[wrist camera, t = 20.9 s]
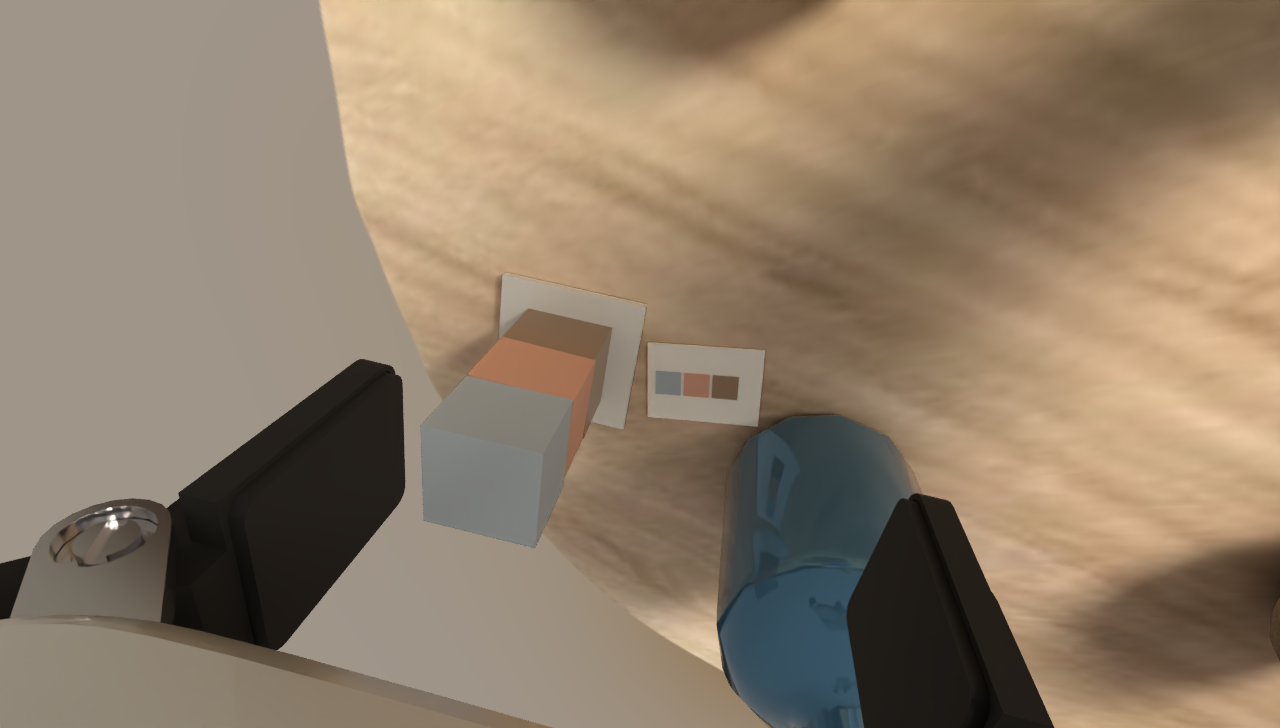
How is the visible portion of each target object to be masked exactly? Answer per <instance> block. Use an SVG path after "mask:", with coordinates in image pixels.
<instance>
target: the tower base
mask: <svg viewBox="0 0 1280 728" xmlns="http://www.w3.org/2000/svg"><path fill="white" fill-rule="evenodd" d="M646 309H647V304H644V303H640V302H635V301H631V300H626V299H622V298H617V297H613V296H609V295H604V294H600V293H595V292H591V291H586V290H582V289H578V288H573V287H569V286H564V285H560V284H555V283H551V282H547V281H542V280H538V279H533V278H529V277H524V276H520V275H516V274H511V273H507V272H506V273H504V274H503V276H502V292H501V309H500V326H499V339H500V338H501V337H506V338H510V339H514V340H518V341H522V342H526V343H530V344H534V345H538V346H542V347H546V348H549V349H553V350H557V351H561V352H565V353H569V354H573V355H577V356H581V357H585V358H589V359H593V360H596V363H595V369H594V374H593V380H592V386H591V392H590V398H589V403H588V409H587V415H586V421H585V427H584V433H583V438H584V436H585V434H586V432H587V430H588V427H589V425H590V423H591V422H593V423H597V424H601V425H605V426H610V427H614V428H618V429H622V430H623V428H624V426H625V420H626V415H627V410H628V404H629V399H630V394H631V388H632V383H633V378H634V372H635V367H636V362H637V357H638V351H639V346H640V341H641V335H642V330H643V325H644V319H645V314H646ZM583 438H582V439H583Z"/></svg>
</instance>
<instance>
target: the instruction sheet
mask: <svg viewBox="0 0 1280 728" xmlns="http://www.w3.org/2000/svg"><path fill="white" fill-rule="evenodd" d="M764 359H765V350H758V349H744V348H729V347H715V346H700V345H685V344H671V343H656V342H648V417H653V418H665V419H676V420H687V421H699V422H710V423H721V424H733V425H744V426H755V427H758V419H759V409H760V399H761V389H762V379H763V369H764Z"/></svg>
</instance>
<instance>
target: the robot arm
mask: <svg viewBox="0 0 1280 728" xmlns="http://www.w3.org/2000/svg"><path fill="white" fill-rule="evenodd" d="M404 489H405V459H404V423H403V388H402V379H401V377H400V376H398V375H395V371H394V369H393V367H391V366H390V365H386V364H381V363H377V362H373V361H369V360H365V359H359V360H357V361H356V362H354V363H353V364H351V365H350V366H349V367H347V368H346V369H345V370H343V371H342V372H341V373H339V374H338V375H337V376H335V377H334V378H333V379H331V380H330V381H329V382H327V383H326V384H324V385H323V386H322V387H320V388H319V389H318V390H316V391H315V392H314V393H312V394H311V395H310V396H308V397H307V398H306V399H304V400H303V401H302V402H300V403H299V404H298V405H296V406H295V407H294V408H292V409H291V410H289V411H288V412H287V413H285V414H284V415H283V416H281V417H280V418H279V419H277V420H276V421H275V422H273V423H272V424H271V425H269V426H268V427H267V428H265V429H264V430H263V431H261V432H260V433H259V434H257V435H256V436H254V437H253V438H252V439H250V440H249V441H248V442H246V443H245V444H244V445H242V446H241V447H240V448H238V449H237V450H236V451H234V452H233V453H232V454H230V455H229V456H228V457H226V458H225V459H224V460H222V461H221V462H219V463H218V464H217V465H216V466H214V467H213V468H211V469H210V470H209V471H207V472H206V473H205V474H203V475H202V476H201V477H199V478H198V479H197V480H195V481H194V482H193V483H191V484H190V485H189V486H187V487H186V488H184V489H183V490H182V491H180V492H179V499H178V500H177V501H175V502H174V503H173V504H171V505H170V506H169V507H168V508H165V507H164V506H163V505H162V504H160V503H157V502H154V501H151V500H145V499H133V498H132V499H123V500H113V501H109V502H105V503H101V504H97V505H93V506H91V507H88V508H86V509H83V510H81V511H78V512H76V513H73V514H71V515H70V516H68V517H66V518H65V519H63V520H61V521H60V522H58V523H56V524H55V525H53V526H52V527H51V528H50V529H49V530H48V531H47V532H46V533H44V534H43V535H42V536H41V537H40V539H39V541H38V543H37V544H36V546H35V548H34V549H33V552H32V555H31V556H30V557H25V558H21V559H17V560H13V561H9V562H5V563H1V564H0V728H552V727H549V726H545V725H541V724H538V723H534V722H531V721H527V720H523V719H520V718H517V717H513V716H510V715H506V714H503V713H499V712H496V711H492V710H488V709H485V708H482V707H478V706H475V705H471V704H467V703H464V702H460V701H457V700H453V699H450V698H446V697H443V696H439V695H435V694H432V693H429V692H425V691H421V690H418V689H414V688H411V687H407V686H403V685H400V684H396V683H392V682H389V681H385V680H381V679H378V678H375V677H371V676H368V675H364V674H360V673H357V672H353V671H350V670H346V669H342V668H339V667H335V666H331V665H328V664H325V663H321V662H317V661H314V660H310V659H307V658H302V657H299V656H296V655H292V654H288V653H284V652H280V651H276V650H278V649H279V648H281V647H282V646H283V645H284V644H285V643H286V642H287V641H288V639H289V638H290V637H291V636H292V634H293V633H294V632H295V631H296V629H297V628H298V627H299V626H300V625H301V623H302V622H303V621H304V620H305V618H306V617H307V616H308V615H309V614H310V612H311V611H312V610H313V608H314V607H315V606H316V605H317V604H318V602H319V601H320V600H321V599H322V597H323V596H324V595H325V594H326V593H327V591H328V590H329V589H330V588H331V586H332V585H333V584H334V583H335V581H336V580H337V579H338V578H339V577H340V575H341V574H342V573H343V572H344V570H345V569H346V568H347V567H348V565H349V564H350V563H351V562H352V561H353V559H354V558H355V557H356V556H357V554H358V553H359V552H360V551H361V550H362V548H363V547H364V546H365V545H366V543H367V542H368V541H369V540H370V538H371V537H372V536H373V535H374V533H375V532H376V531H377V530H378V529H379V527H380V526H381V525H382V524H383V522H384V521H385V520H386V519H387V518H388V516H389V515H390V514H391V513H392V511H393V510H394V509H395V508H396V506H397V505H398V504H399V502H400V501H401V498H402V496H403V494H404ZM846 618H847V626H848V633H849V639H850V645H851V651H852V657H853V663H854V669H855V676H856V682H857V688H858V694H859V700H860V706H861V713H862V719H863V725H864V728H1054V726H1053V724H1052V721H1051V719H1050V717H1049V715H1048V713H1047V710H1046V708H1045V706H1044V704H1043V701H1042V699H1041V697H1040V695H1039V693H1038V690H1037V688H1036V686H1035V684H1034V681H1033V679H1032V677H1031V675H1030V672H1029V670H1028V668H1027V666H1026V664H1025V661H1024V659H1023V657H1022V655H1021V652H1020V650H1019V648H1018V646H1017V644H1016V641H1015V639H1014V637H1013V635H1012V632H1011V630H1010V628H1009V626H1008V624H1007V621H1006V619H1005V617H1004V615H1003V612H1002V610H1001V608H1000V606H999V603H998V601H997V599H996V598H995V596H994V595H993V593H992V592H991V590H990V588H989V586H988V583H987V581H986V579H985V577H984V574H983V572H982V570H981V568H980V565H979V563H978V561H977V559H976V556H975V554H974V552H973V550H972V547H971V545H970V543H969V541H968V538H967V536H966V534H965V532H964V529H963V527H962V525H961V523H960V520H959V518H958V516H957V514H956V511H955V509H954V507H953V505H952V504H951V502H949V501H947V500H943V499H939V498H935V497H931V496H927V495H923V494H919V493H914V494H912V495H911V496H910V497H909V499H904V498H902V499H900V500H899V501H898V502H897V504H896V506H895V508H894V510H893V512H892V514H891V516H890V518H889V520H888V522H887V524H886V526H885V528H884V530H883V532H882V534H881V536H880V538H879V540H878V542H877V545H876V547H875V549H874V551H873V553H872V555H871V557H870V559H869V561H868V563H867V565H866V567H865V569H864V571H863V573H862V575H861V577H860V579H859V581H858V583H857V585H856V587H855V589H854V591H853V593H852V595H851V597H850V600H849V602H848V606H847V615H846Z"/></svg>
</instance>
